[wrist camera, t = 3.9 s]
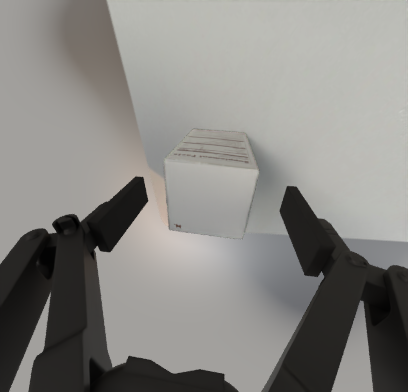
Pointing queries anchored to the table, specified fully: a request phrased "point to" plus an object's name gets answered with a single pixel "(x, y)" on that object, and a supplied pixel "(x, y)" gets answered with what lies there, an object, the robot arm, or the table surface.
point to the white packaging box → (210, 183)
